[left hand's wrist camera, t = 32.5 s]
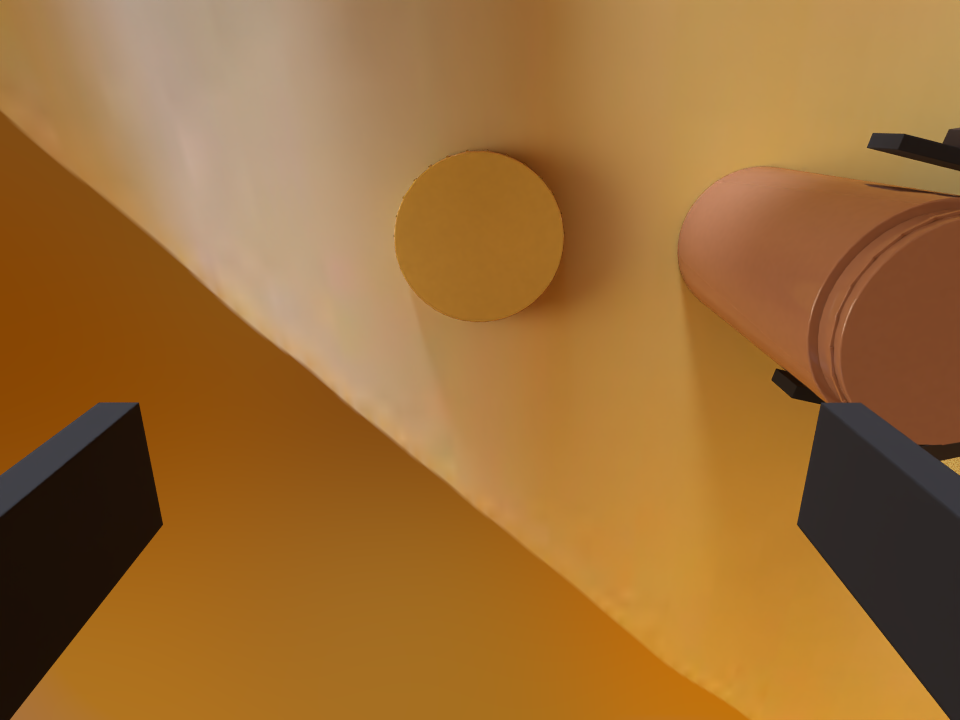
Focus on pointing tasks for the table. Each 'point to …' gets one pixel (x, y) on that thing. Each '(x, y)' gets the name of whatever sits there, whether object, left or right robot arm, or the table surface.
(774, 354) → the jar
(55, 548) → the left robot arm
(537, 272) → the lid
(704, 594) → the table surface
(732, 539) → the table surface
